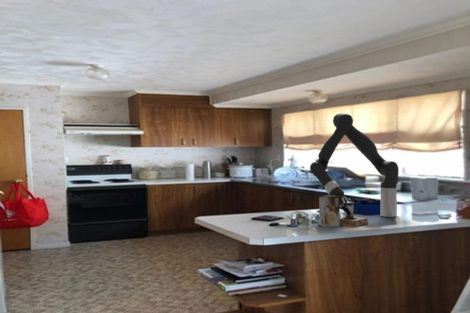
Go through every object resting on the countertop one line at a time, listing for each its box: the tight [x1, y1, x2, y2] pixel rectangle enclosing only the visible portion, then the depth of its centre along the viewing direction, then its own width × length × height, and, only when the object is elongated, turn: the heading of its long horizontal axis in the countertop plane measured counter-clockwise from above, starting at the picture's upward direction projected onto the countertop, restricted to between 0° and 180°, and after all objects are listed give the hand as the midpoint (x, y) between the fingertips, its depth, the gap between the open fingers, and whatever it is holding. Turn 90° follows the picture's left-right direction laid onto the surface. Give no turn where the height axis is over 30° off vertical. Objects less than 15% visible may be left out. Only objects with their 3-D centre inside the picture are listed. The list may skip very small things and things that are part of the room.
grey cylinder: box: [345, 201, 355, 220], centre depth 251 cm, size 5×5×11 cm
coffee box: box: [318, 194, 341, 228], centre depth 245 cm, size 9×6×16 cm
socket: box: [340, 215, 369, 228], centre depth 251 cm, size 14×14×3 cm
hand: (352, 213), depth 250 cm, fingers closed on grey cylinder, 4 cm apart
